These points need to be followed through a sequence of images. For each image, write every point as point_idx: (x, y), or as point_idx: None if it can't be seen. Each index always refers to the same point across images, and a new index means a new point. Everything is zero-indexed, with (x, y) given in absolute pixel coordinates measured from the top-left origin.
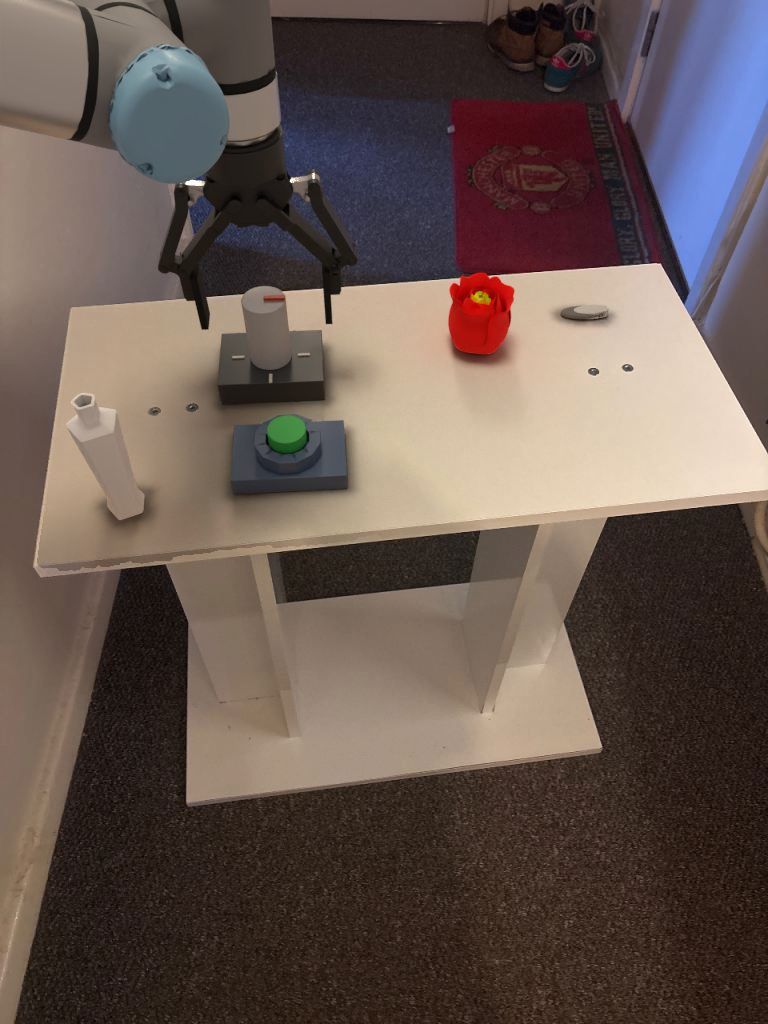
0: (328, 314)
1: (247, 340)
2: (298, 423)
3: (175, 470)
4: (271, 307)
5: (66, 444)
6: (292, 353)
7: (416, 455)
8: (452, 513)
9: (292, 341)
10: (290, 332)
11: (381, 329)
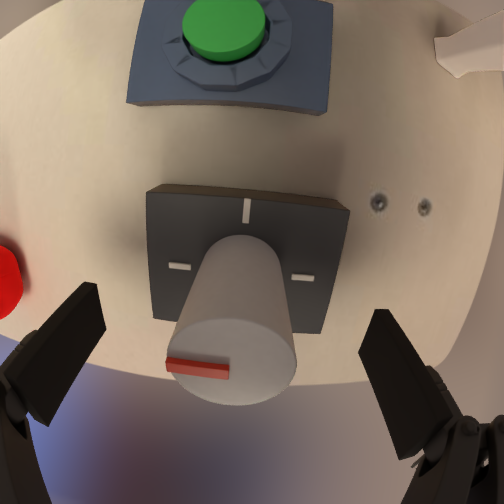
0: (76, 296)
1: None
2: (194, 29)
3: (406, 83)
4: (205, 337)
5: (499, 179)
6: None
7: (62, 75)
8: (58, 5)
9: None
10: None
11: None
